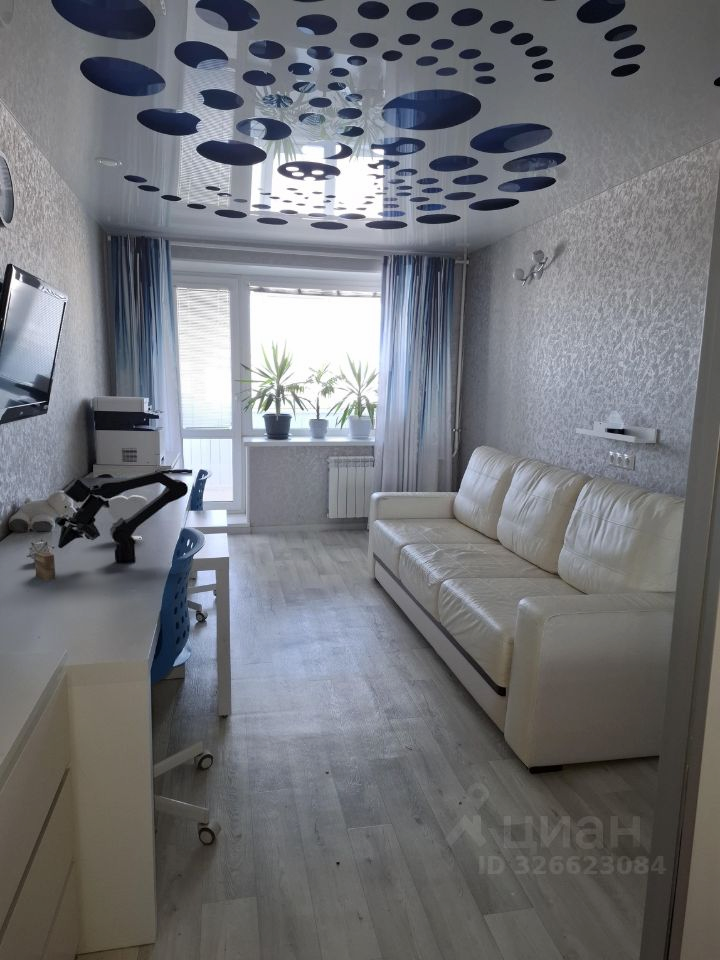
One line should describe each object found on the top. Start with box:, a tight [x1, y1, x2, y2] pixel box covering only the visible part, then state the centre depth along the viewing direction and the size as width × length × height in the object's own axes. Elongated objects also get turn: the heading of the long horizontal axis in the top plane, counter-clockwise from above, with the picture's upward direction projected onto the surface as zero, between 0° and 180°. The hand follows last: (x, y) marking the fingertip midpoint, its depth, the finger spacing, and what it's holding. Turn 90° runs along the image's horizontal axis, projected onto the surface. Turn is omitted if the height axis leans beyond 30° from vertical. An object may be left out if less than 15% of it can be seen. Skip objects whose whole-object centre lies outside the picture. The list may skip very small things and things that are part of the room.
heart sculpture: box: [107, 494, 149, 540], centre depth 267 cm, size 16×5×18 cm, turn 107°
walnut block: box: [34, 551, 56, 581], centre depth 215 cm, size 3×7×8 cm, turn 53°
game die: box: [26, 539, 55, 563], centre depth 231 cm, size 9×8×10 cm
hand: (59, 547), depth 219 cm, fingers closed
